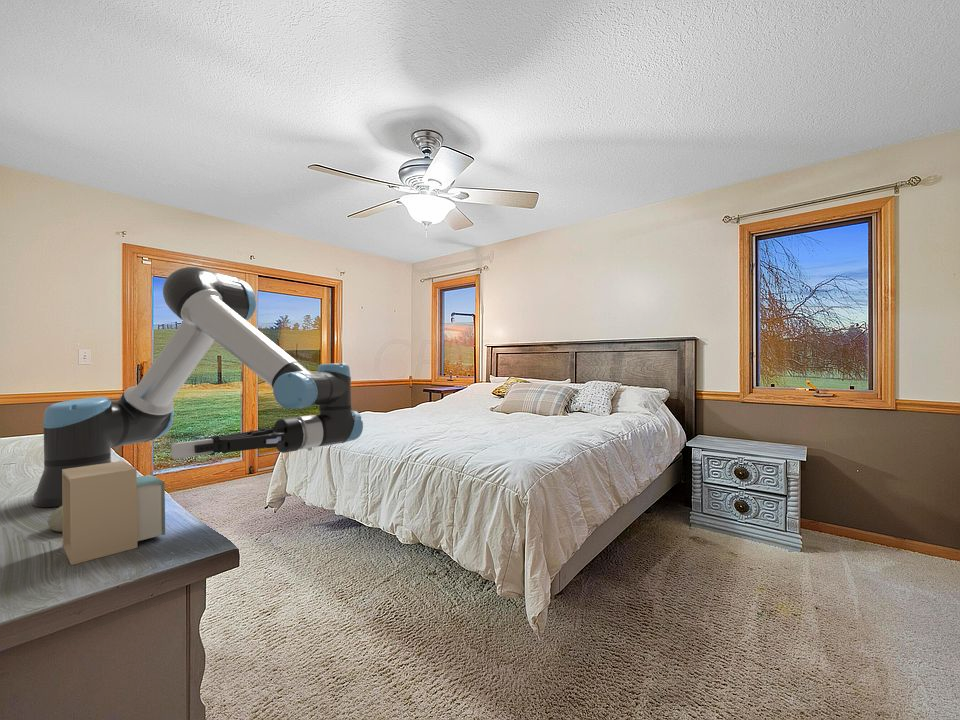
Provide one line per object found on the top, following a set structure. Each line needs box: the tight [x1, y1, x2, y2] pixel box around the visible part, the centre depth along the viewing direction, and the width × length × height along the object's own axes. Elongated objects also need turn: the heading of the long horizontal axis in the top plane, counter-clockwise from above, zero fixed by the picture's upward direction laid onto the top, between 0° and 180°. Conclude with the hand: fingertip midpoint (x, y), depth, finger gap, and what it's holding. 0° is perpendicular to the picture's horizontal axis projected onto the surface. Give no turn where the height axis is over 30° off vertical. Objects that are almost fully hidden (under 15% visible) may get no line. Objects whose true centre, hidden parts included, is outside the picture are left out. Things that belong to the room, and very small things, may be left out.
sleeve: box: [62, 460, 138, 566], centre depth 72 cm, size 8×11×13 cm
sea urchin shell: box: [47, 506, 63, 533], centre depth 83 cm, size 9×8×8 cm
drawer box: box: [137, 474, 166, 542], centre depth 74 cm, size 10×9×9 cm
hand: (172, 451), depth 80 cm, fingers closed
